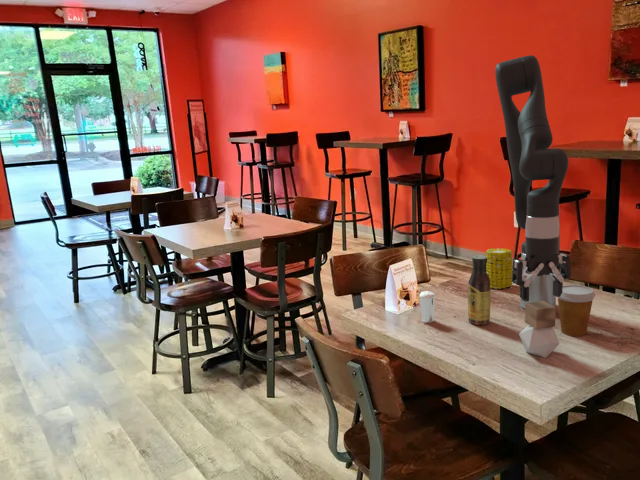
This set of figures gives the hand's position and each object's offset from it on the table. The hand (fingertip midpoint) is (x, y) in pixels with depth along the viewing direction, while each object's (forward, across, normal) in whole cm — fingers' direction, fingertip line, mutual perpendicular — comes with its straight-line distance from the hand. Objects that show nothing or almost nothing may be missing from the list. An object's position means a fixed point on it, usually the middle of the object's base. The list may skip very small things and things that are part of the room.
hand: (540, 298), depth 136 cm
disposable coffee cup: (+15, -16, -9) cm, 23 cm away
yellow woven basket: (+15, -18, -53) cm, 58 cm away
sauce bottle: (+15, +4, -24) cm, 28 cm away
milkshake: (+15, +17, -30) cm, 38 cm away
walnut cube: (+7, 0, 0) cm, 7 cm away
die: (+15, 0, 0) cm, 15 cm away
